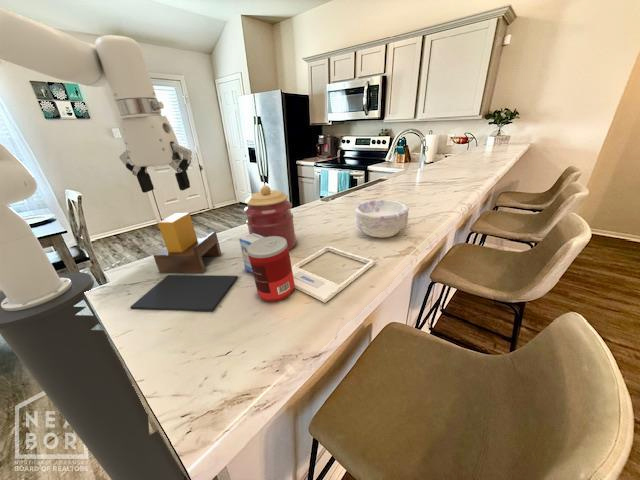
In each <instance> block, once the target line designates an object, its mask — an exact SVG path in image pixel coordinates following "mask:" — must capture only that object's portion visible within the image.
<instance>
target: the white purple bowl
mask: <svg viewBox="0 0 640 480" xmlns="http://www.w3.org/2000/svg"><path fill="white" fill-rule="evenodd" d="M408 219H409V207H408V206H407V205H406V204H404V203H403V202H400V201H396V200H391V199H390V200H389V199H373V200H368V201H363V202H361V203H359V204H358V205H356V206H355V208H354V220H355V225H356V227H357V228H359V229H361V230H362V231H363V232H364V234H366V235H367V236H370V237H372V238H378V239H383V238H384V239H385V238H390V237H393V236H395V235H397V234H398V233H399V231H400V230H403V229H404V228H405V227H406V226H407V225H408Z"/></svg>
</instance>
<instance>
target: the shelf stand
mask: <svg viewBox="0 0 640 480" xmlns="http://www.w3.org/2000/svg"><path fill="white" fill-rule="evenodd" d="M197 240H198V241H196V242H195V243H194V244H192V245H191V246H190V247H189V248H187V249H186V250H185V251H183V252H168V251H167V248H166V246H164V247H163V248H162V249H160V250H159V251H157V252H156V253H154V254H153V255H152V256H153V259H154V261H155V263H156V267H157V269H158V270H157V271H158V273H163V274H165V273H167V274H169V273H170V274H203V273H205V272H206V268H205V264H204V261H203V257H220V256H221V255H222V250H221V246H220V243H219V238H218V235H217V231H215V230H214V231H212V232H210V233H209V234H208V235H207V236H206V237H201V238H200V237H197Z"/></svg>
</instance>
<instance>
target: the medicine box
mask: <svg viewBox="0 0 640 480" xmlns="http://www.w3.org/2000/svg"><path fill="white" fill-rule="evenodd" d="M261 238H264V237H263V236H261V235H258V234H255V233H252V234H249V233H248V234H247V235H244V236H242V237H240V238H239V239H238V240H239V245H240V250H241V255H242V259H243V265H244V269H245V271H247V272H248V273H251V274H253V272H252V268H251V264H250V260H249V256H248V251H247V248H248V246H249V245H250V244H251V243H253V242H254V241H256V240H258V239H261Z"/></svg>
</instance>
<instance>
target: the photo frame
mask: <svg viewBox="0 0 640 480" xmlns="http://www.w3.org/2000/svg"><path fill="white" fill-rule="evenodd" d="M326 252H332V253H334V254H337V255H340V256H342V257H343V256H344V257H347V258H350V259H353V260H355V261H358V262H361V263H365V264H364V265H363V266H362V267H361V268H359V269H358V270H357V271H356V272H354V273H353V274H351V275H350V276H349V277H347V278H346V279H345V280H344V281H342V282H341V283H339V284H338V283H336V282H334V281H331V280H328V279H327V278H324V277H322V276H319V275H317V274H314V273H313V272H310V271H307V270H305V269H302V268H301V267H303V266H305V265H306V264H307V263H309V262H310V261H313V260H314V259H316V258H317V257H319V256H321V255H322V254H324V253H326ZM374 265H375V260H373V259H371V258H367V257H363V256H361V255H358V254H354V253H351V252H348V251H344V250H342V249H338V248H335V247H332V246H330V245H326V246H325V247H323V248H321V249H319V250H318V251H316V252H314V253H311V255H308V256H307V257H305V258H304V259H302V260H300V261H299V262H296V263H295V264H293V265H291V267H292V273H293V278H294V289H297V290H298V291H300V292H301V293H302V292H303V293H304V294H307V295H309V296H310V297H312V298H314V299H317V301H318V300H319V301H321V302H323V303H324V304H326V303H327V302H328V301H329V300H331V299H332V298H333V297H335V296H336V295H337V294H339V293H340V292H341V291H342V290H343V289H345V288H346V287H347V286H349V285H350V284H351V283H352V282H354V281H355V280H356V279H357V278H359V277H360V276H361V275H363V273H365V272H366V271H367V270H369V269H370V268H371V267H373V266H374Z"/></svg>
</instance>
